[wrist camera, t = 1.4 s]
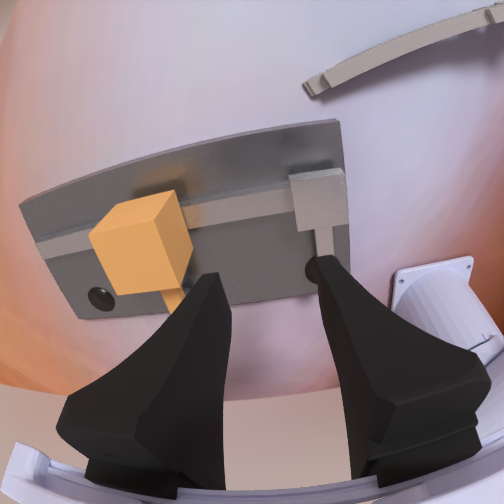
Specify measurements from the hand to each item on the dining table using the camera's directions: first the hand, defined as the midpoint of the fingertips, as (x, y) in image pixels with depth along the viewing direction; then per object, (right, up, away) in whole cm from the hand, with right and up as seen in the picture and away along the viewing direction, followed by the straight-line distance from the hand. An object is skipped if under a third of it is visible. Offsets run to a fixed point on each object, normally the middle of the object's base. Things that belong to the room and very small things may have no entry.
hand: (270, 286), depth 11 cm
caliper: (+11, +16, +2) cm, 19 cm away
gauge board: (-6, +2, +10) cm, 12 cm away
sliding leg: (-6, +1, +9) cm, 11 cm away
